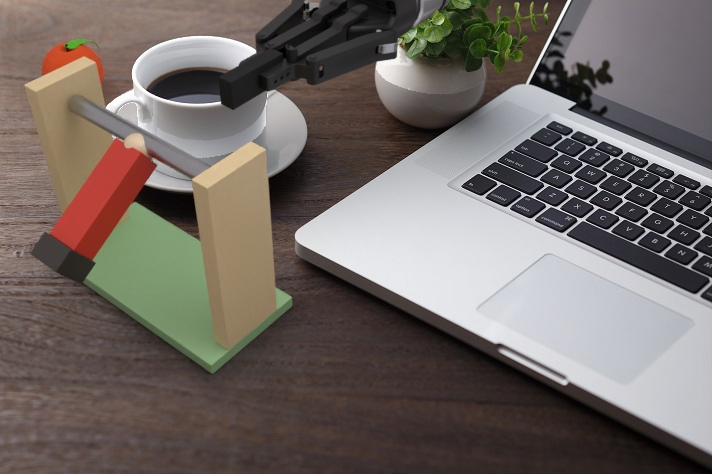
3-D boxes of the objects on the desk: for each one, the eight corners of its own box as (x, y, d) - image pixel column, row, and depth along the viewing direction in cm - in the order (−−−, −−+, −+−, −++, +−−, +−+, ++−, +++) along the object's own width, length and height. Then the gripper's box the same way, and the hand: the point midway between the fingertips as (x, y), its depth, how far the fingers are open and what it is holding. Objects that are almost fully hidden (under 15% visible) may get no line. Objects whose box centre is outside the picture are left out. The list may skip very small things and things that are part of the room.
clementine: (86, 73, 103) (74, 20, 98) (127, 89, 100) (117, 36, 95) (36, 102, 98) (21, 48, 93) (78, 120, 95) (65, 65, 90)
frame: (54, 263, 77) (1, 95, 65) (137, 210, 83) (103, 47, 71) (212, 374, 68) (185, 202, 56) (293, 306, 74) (284, 136, 61)
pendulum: (-24, 215, 66) (69, 85, 67) (4, 230, 68) (92, 104, 70) (116, 315, 58) (216, 165, 60) (141, 326, 61) (236, 183, 63)
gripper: (439, 52, 84) (284, 158, 70) (340, 13, 90) (178, 103, 76) (446, -18, 79) (280, 81, 65) (341, -54, 85) (168, 29, 71)
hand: (225, 93), depth 70 cm, fingers closed
